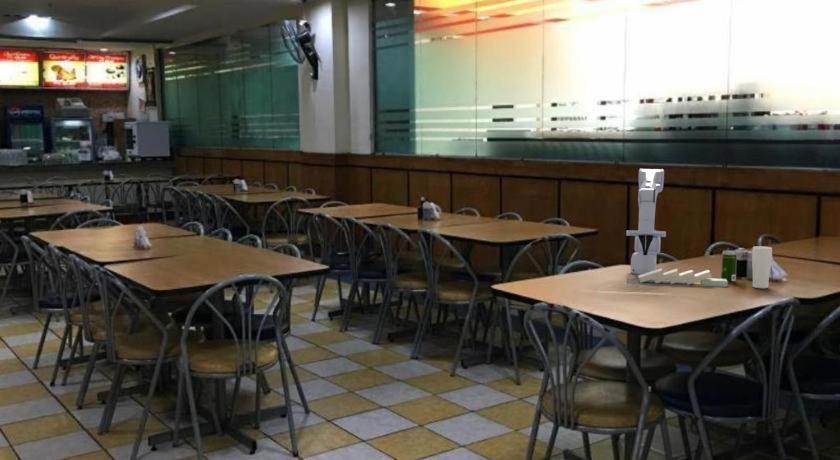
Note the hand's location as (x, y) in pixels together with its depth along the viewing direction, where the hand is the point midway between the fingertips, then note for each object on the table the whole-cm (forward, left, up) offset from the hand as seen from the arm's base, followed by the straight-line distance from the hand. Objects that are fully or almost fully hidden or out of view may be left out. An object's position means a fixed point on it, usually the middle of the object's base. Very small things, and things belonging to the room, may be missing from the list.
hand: (645, 255), depth 313 cm
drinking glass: (+37, +19, -11) cm, 43 cm away
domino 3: (+10, 0, -9) cm, 13 cm away
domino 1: (+1, -5, -9) cm, 10 cm away
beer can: (+24, +21, -11) cm, 34 cm away
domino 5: (+20, +6, -9) cm, 23 cm away
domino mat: (+11, +1, -10) cm, 15 cm away
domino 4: (+15, +3, -9) cm, 18 cm away
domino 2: (+5, -2, -9) cm, 11 cm away
